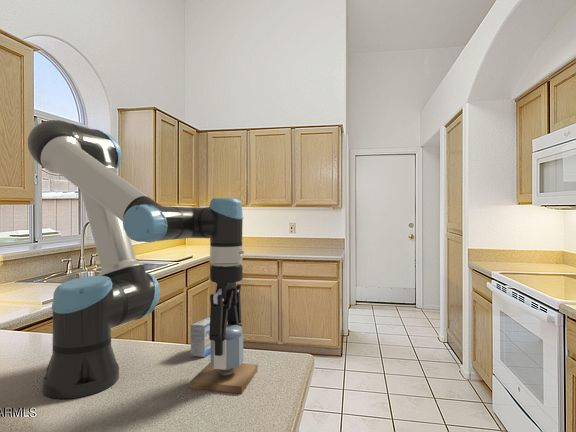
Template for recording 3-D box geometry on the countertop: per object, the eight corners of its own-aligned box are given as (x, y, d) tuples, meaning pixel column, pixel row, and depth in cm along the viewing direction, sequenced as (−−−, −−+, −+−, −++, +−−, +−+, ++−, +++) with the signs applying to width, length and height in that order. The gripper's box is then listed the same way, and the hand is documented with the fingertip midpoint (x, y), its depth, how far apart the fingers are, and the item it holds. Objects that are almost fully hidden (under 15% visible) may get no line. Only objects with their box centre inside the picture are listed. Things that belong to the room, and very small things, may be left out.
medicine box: (204, 358, 99) (204, 325, 99) (190, 356, 100) (190, 324, 100) (219, 348, 106) (219, 318, 106) (205, 346, 108) (205, 316, 108)
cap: (206, 367, 83) (206, 332, 83) (218, 356, 90) (218, 323, 90) (236, 370, 82) (236, 334, 82) (245, 358, 89) (245, 325, 89)
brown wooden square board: (190, 388, 81) (190, 361, 81) (212, 366, 93) (212, 343, 93) (241, 393, 79) (242, 366, 79) (257, 370, 91) (257, 346, 91)
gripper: (226, 270, 75) (226, 382, 75) (254, 259, 95) (254, 348, 95) (192, 269, 77) (192, 378, 77) (226, 259, 97) (226, 346, 96)
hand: (226, 361), depth 86 cm, fingers closed on cap, 7 cm apart
